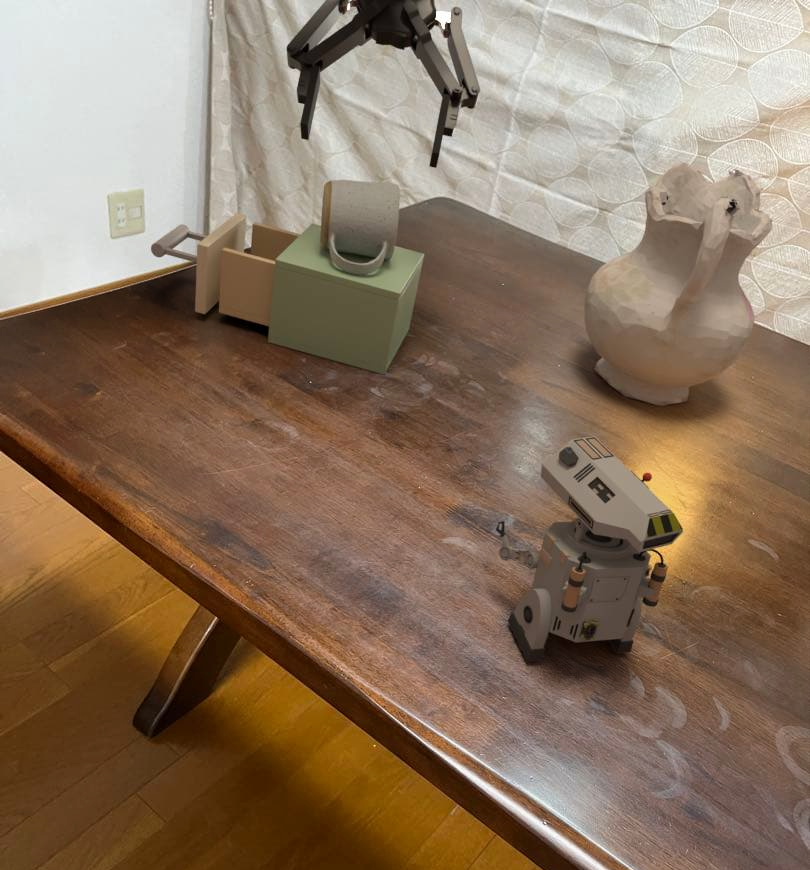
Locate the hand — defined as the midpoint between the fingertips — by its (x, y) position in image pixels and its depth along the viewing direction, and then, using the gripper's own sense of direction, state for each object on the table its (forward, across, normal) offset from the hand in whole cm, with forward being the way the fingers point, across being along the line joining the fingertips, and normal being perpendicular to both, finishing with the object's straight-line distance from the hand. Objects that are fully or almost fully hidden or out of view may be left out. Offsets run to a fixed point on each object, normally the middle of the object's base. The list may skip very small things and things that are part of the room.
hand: (369, 146), depth 89 cm
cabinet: (+16, 0, +14) cm, 21 cm away
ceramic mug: (+9, +1, +7) cm, 11 cm away
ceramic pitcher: (+13, +37, +16) cm, 43 cm away
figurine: (+46, +23, -16) cm, 53 cm away
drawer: (+14, -12, +14) cm, 23 cm away
